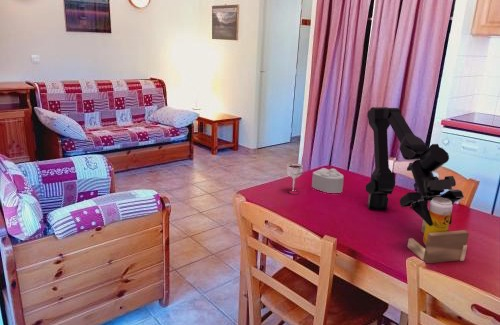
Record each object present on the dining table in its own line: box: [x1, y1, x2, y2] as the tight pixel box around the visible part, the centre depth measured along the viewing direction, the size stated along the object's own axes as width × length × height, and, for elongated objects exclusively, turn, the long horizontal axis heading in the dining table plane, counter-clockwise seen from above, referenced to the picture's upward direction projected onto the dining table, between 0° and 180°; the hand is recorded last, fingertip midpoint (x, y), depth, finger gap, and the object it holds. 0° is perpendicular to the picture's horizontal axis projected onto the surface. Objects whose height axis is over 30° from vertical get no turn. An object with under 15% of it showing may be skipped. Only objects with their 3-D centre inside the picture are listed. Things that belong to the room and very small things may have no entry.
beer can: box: [422, 197, 454, 246], centre depth 116 cm, size 6×6×15 cm
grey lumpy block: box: [311, 167, 345, 194], centre depth 167 cm, size 10×13×9 cm
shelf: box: [407, 219, 470, 264], centre depth 121 cm, size 19×12×9 cm, turn 12°
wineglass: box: [286, 162, 304, 191], centre depth 162 cm, size 7×7×12 cm
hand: (440, 224), depth 115 cm, fingers closed on beer can, 6 cm apart
